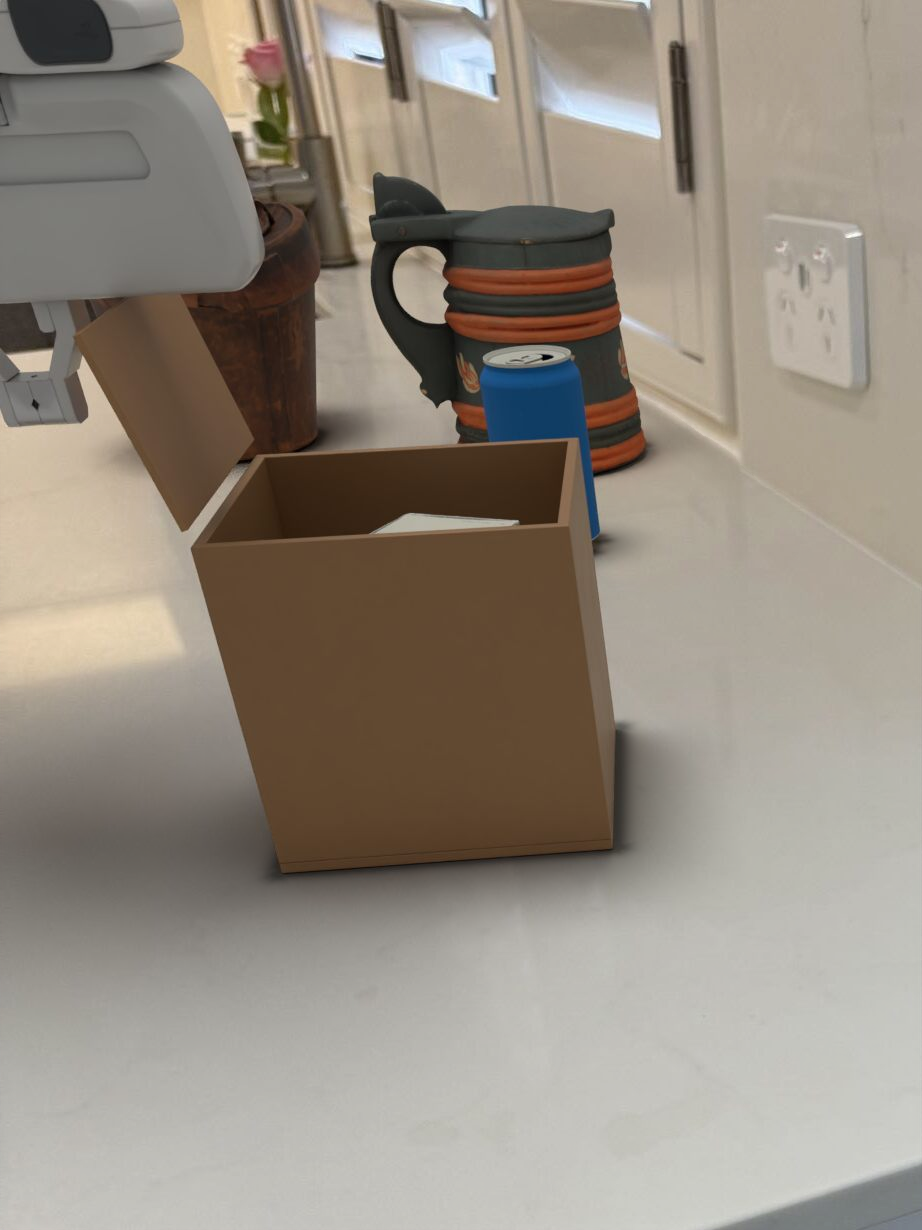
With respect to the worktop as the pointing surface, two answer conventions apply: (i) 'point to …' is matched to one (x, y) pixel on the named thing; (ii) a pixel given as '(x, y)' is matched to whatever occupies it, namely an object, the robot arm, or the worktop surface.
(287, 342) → the brown plant pot
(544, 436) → the beverage can
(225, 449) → the flap
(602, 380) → the beer stein
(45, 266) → the robot arm
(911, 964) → the worktop surface
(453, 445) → the carton
